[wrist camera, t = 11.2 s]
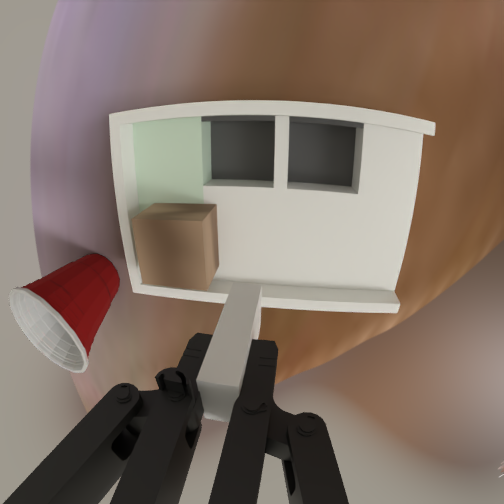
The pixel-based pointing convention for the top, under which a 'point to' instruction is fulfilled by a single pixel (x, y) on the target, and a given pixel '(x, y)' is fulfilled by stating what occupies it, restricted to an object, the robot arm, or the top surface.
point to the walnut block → (177, 244)
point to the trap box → (279, 195)
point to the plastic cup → (66, 309)
